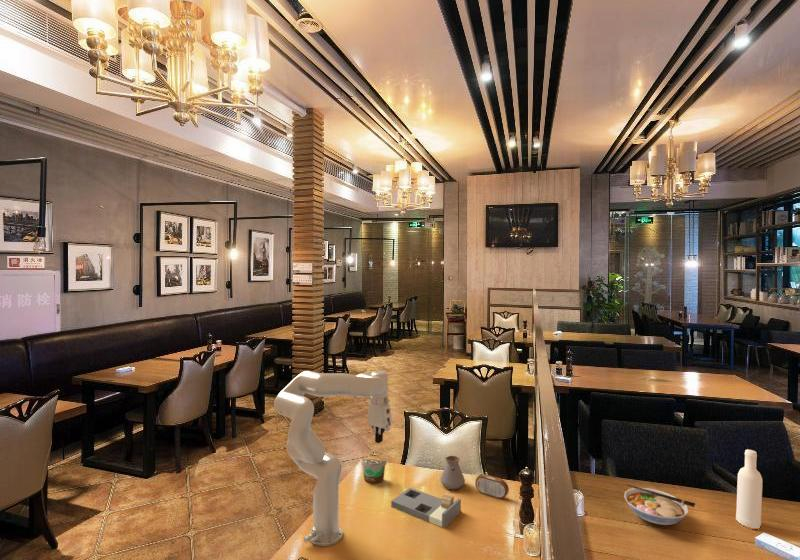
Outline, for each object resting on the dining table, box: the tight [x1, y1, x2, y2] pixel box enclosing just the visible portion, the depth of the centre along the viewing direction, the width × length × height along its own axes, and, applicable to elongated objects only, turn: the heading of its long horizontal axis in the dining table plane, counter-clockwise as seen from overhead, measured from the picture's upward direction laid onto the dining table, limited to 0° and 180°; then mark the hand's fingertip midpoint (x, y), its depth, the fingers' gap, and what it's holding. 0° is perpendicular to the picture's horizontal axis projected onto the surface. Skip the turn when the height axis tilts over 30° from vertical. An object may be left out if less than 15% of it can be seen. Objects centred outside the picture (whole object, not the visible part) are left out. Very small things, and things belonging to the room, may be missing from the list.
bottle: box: [735, 449, 763, 529], centre depth 177 cm, size 8×8×30 cm
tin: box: [475, 473, 510, 500], centre depth 199 cm, size 15×3×8 cm, turn 58°
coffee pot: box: [439, 455, 466, 490], centre depth 202 cm, size 21×12×15 cm, turn 174°
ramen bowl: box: [623, 484, 696, 526], centre depth 181 cm, size 25×23×8 cm
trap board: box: [390, 487, 462, 529], centre depth 187 cm, size 14×26×6 cm, turn 55°
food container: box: [361, 457, 387, 485], centre depth 210 cm, size 12×6×10 cm, turn 80°
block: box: [440, 493, 455, 509], centre depth 185 cm, size 4×4×4 cm
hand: (378, 441), depth 191 cm, fingers closed
